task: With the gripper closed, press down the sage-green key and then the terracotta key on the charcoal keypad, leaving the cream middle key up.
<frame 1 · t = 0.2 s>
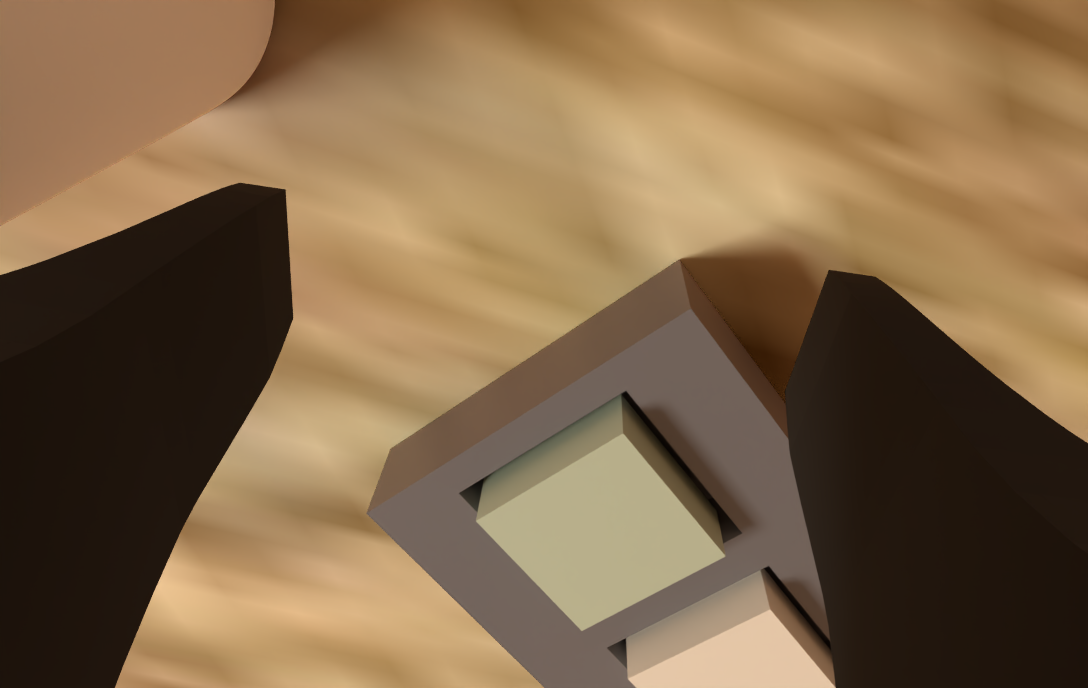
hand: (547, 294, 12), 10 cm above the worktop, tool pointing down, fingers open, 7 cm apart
cream key: (736, 668, 24), point 3 cm above the worktop, slide at 0.0 cm
sage key: (600, 515, 22), point 3 cm above the worktop, slide at 0.0 cm
keypad: (722, 590, 27), on the worktop
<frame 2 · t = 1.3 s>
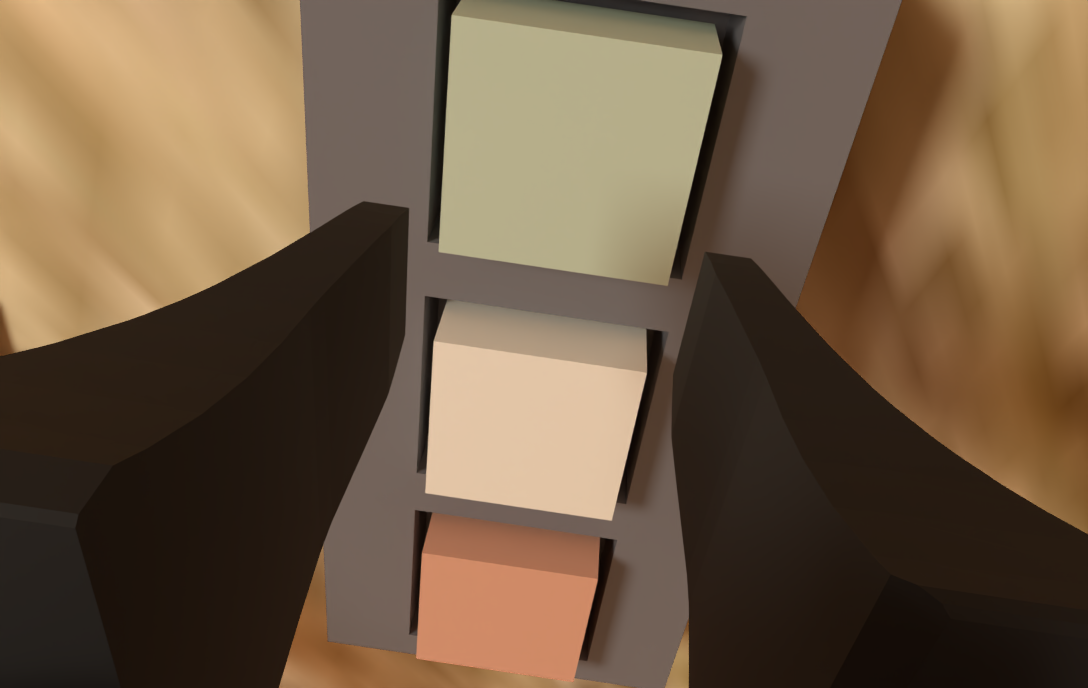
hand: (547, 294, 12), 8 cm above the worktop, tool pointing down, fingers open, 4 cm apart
cream key: (532, 410, 20), point 3 cm above the worktop, slide at 0.0 cm
sage key: (571, 141, 16), point 3 cm above the worktop, slide at 0.0 cm
keypad: (544, 333, 22), on the worktop
terracotta key: (506, 593, 24), point 3 cm above the worktop, slide at 0.0 cm
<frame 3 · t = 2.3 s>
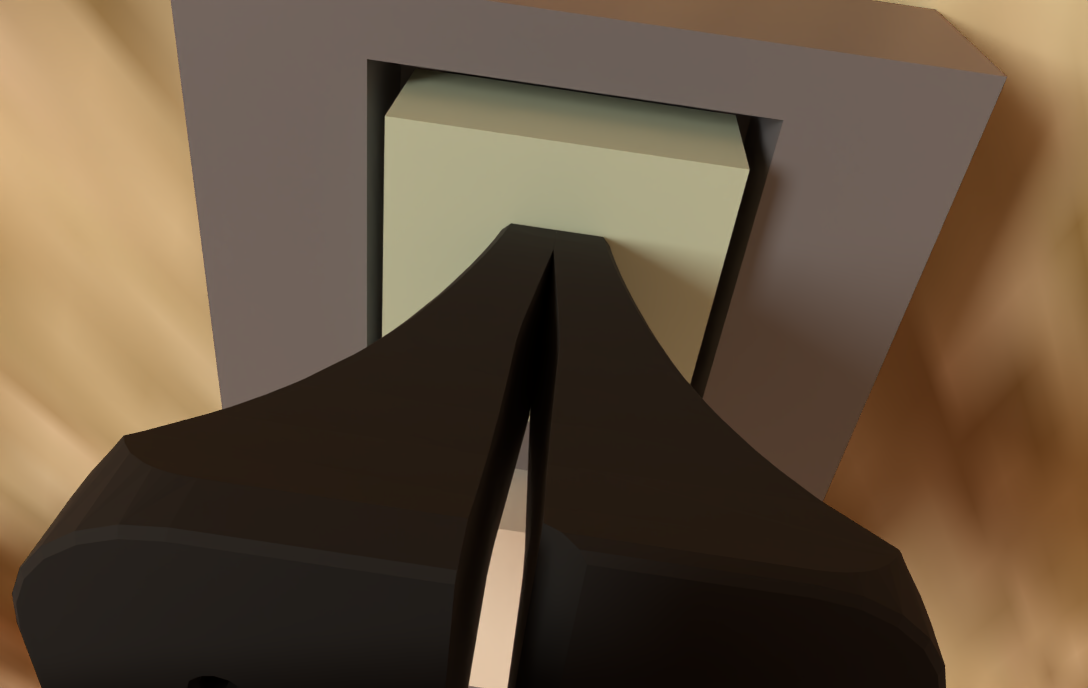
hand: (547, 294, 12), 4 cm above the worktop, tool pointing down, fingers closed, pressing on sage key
cream key: (505, 575, 16), point 3 cm above the worktop, slide at 0.0 cm
sage key: (550, 263, 12), point 3 cm above the worktop, slide at 0.3 cm, touching gripper
keypad: (523, 460, 18), on the worktop
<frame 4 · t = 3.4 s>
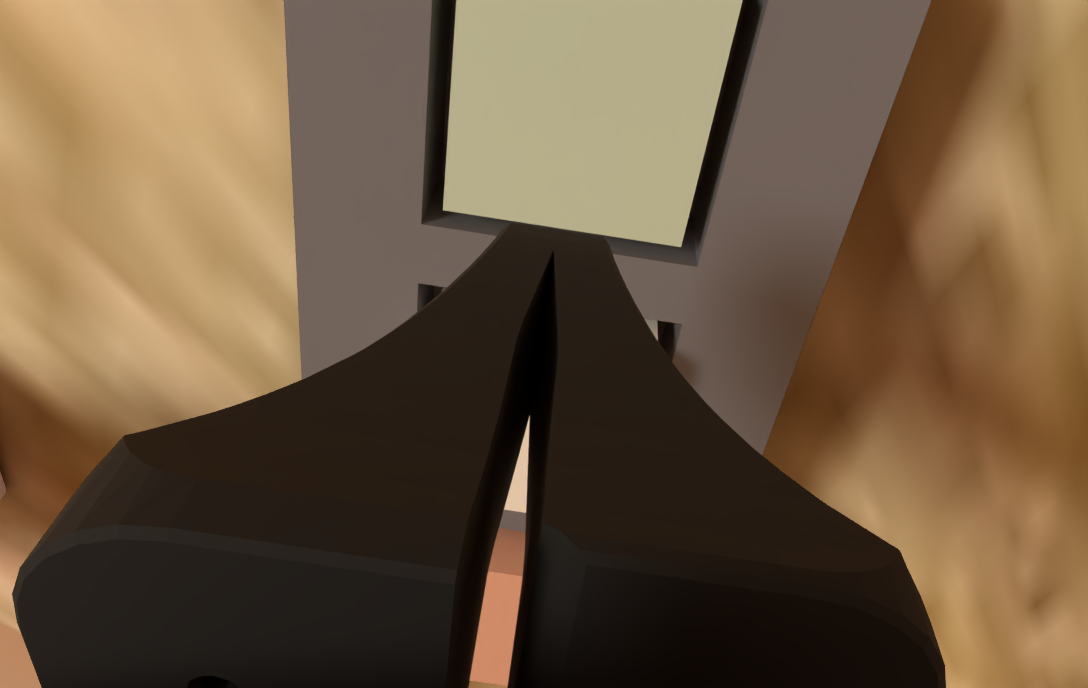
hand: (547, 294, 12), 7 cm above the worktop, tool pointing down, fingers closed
cream key: (534, 408, 18), point 3 cm above the worktop, slide at 0.0 cm
sage key: (582, 94, 15), point 2 cm above the worktop, slide at 0.9 cm
keypad: (546, 326, 21), on the worktop
terracotta key: (503, 602, 22), point 3 cm above the worktop, slide at 0.0 cm
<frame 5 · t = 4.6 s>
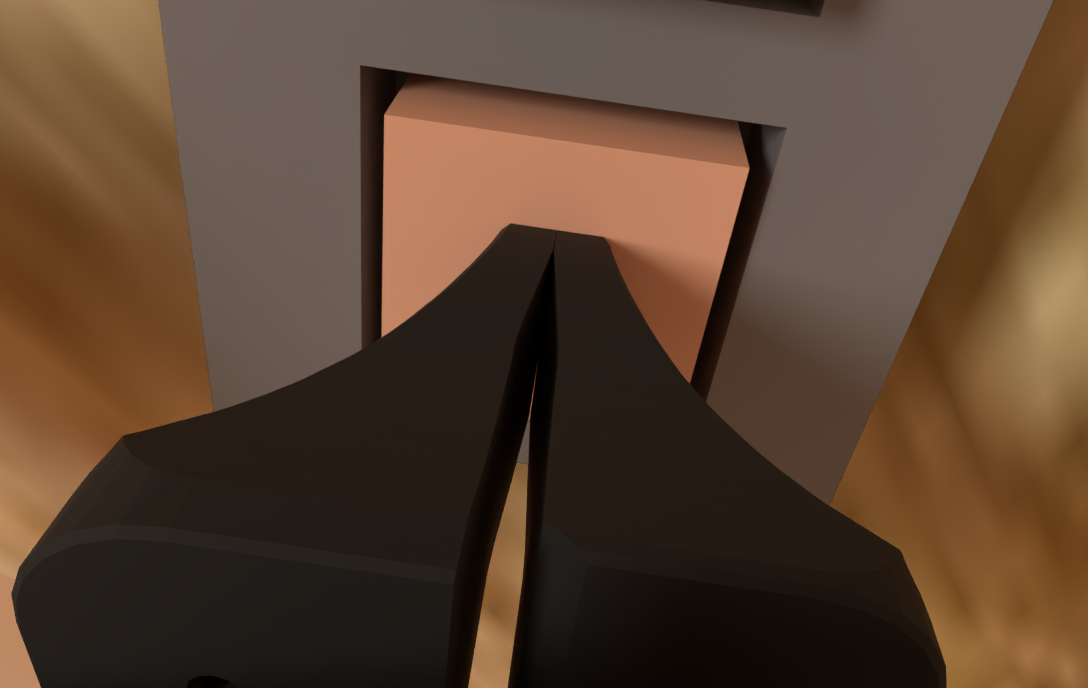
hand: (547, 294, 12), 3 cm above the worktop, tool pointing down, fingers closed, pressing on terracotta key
terracotta key: (550, 262, 12), point 3 cm above the worktop, slide at 0.6 cm, touching gripper
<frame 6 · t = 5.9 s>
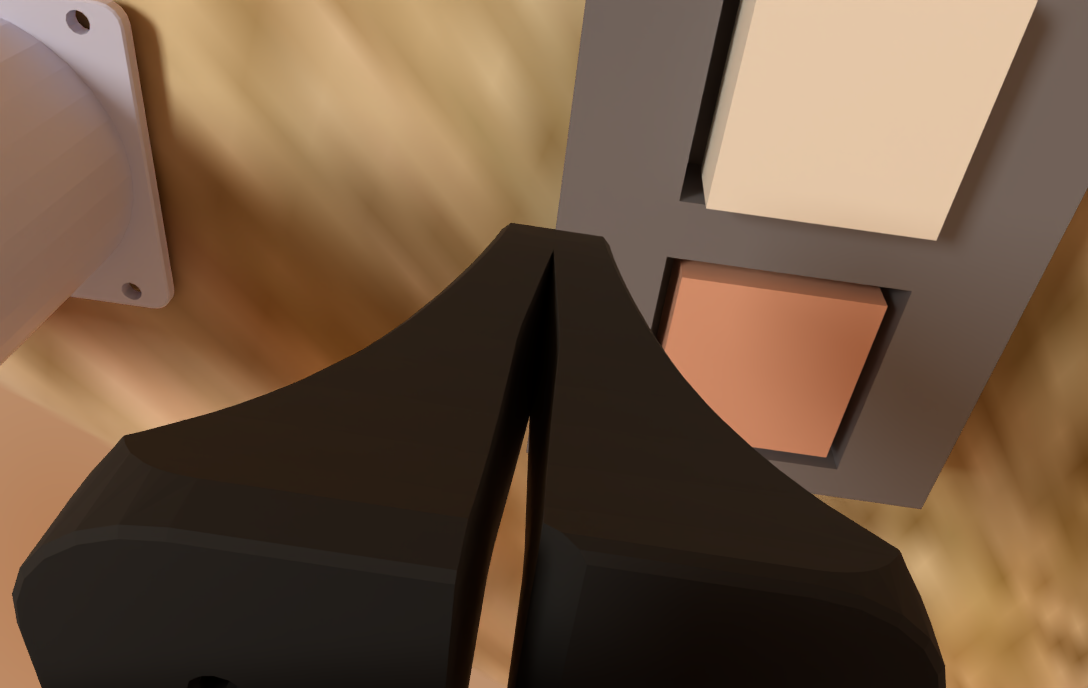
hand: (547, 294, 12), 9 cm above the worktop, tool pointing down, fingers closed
cream key: (847, 95, 16), point 3 cm above the worktop, slide at 0.0 cm
keypad: (819, 45, 19), on the worktop
terracotta key: (754, 350, 21), point 2 cm above the worktop, slide at 0.9 cm
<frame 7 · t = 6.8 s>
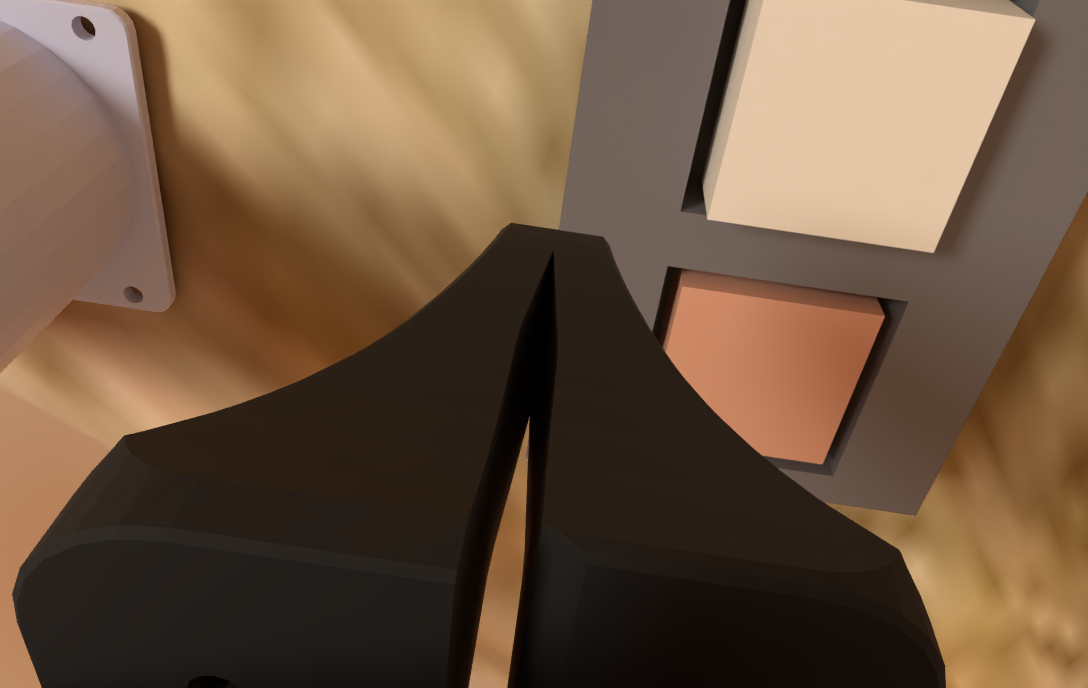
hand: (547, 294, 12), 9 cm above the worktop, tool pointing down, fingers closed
cream key: (847, 109, 16), point 3 cm above the worktop, slide at 0.0 cm
keypad: (819, 58, 19), on the worktop
terracotta key: (752, 358, 21), point 2 cm above the worktop, slide at 0.9 cm
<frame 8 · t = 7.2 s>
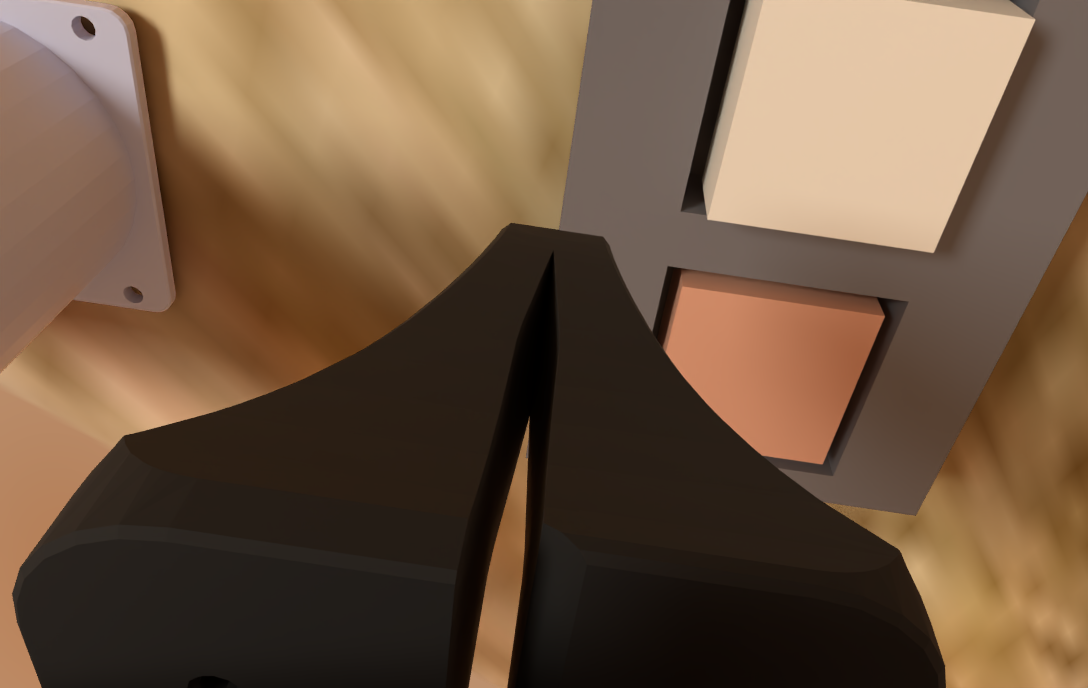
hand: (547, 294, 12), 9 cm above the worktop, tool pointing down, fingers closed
cream key: (847, 109, 16), point 3 cm above the worktop, slide at 0.0 cm
keypad: (819, 58, 19), on the worktop
terracotta key: (752, 358, 21), point 2 cm above the worktop, slide at 0.9 cm
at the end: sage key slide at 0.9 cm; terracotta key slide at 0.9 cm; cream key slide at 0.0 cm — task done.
